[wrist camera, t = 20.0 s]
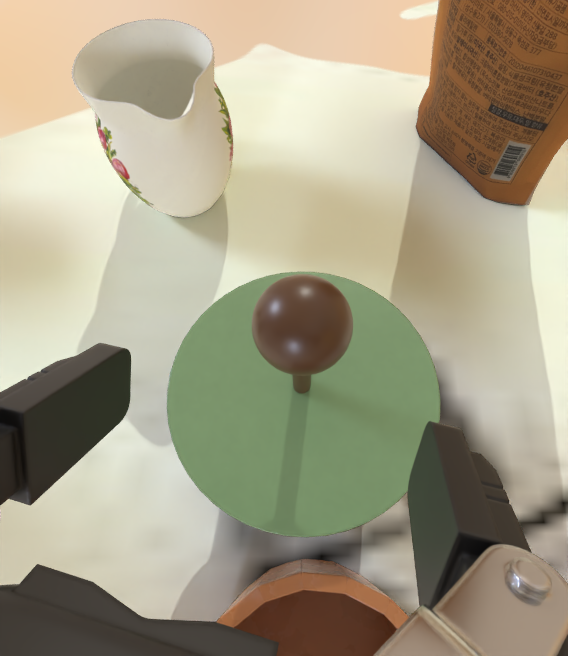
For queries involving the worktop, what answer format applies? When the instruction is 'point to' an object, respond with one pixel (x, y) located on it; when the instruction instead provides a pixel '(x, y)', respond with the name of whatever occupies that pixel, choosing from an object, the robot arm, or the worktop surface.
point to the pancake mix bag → (498, 92)
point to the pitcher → (159, 112)
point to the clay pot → (316, 610)
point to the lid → (301, 403)
